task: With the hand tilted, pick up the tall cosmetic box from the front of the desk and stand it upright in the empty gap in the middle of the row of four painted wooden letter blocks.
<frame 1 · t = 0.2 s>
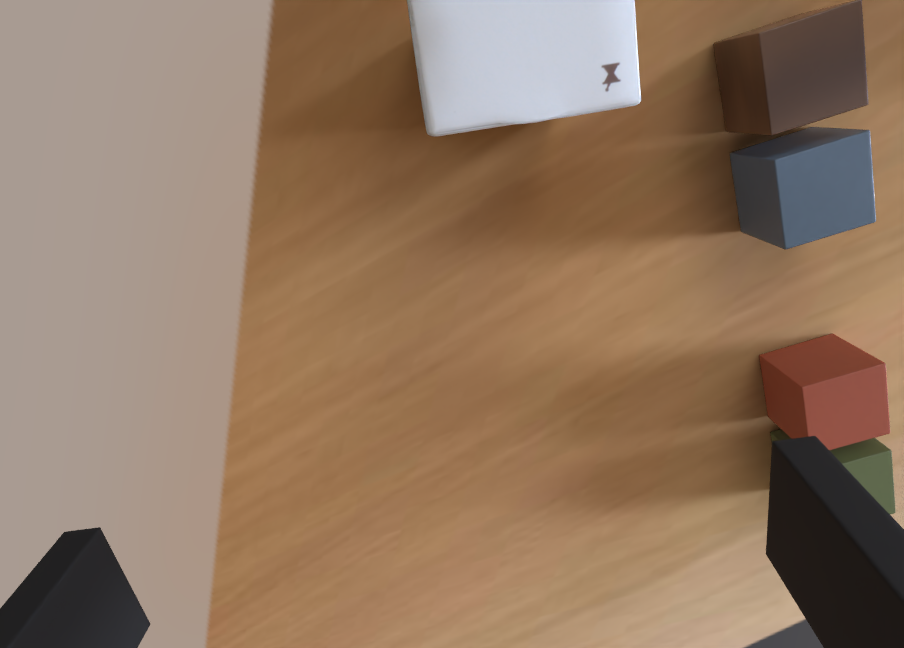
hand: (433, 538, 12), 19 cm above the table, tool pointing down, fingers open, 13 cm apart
block b: (775, 180, 29), on the table
block a: (762, 74, 27), on the table
cosmetic box: (486, 69, 27), on the table
block d: (808, 451, 35), on the table
block c: (799, 376, 33), on the table
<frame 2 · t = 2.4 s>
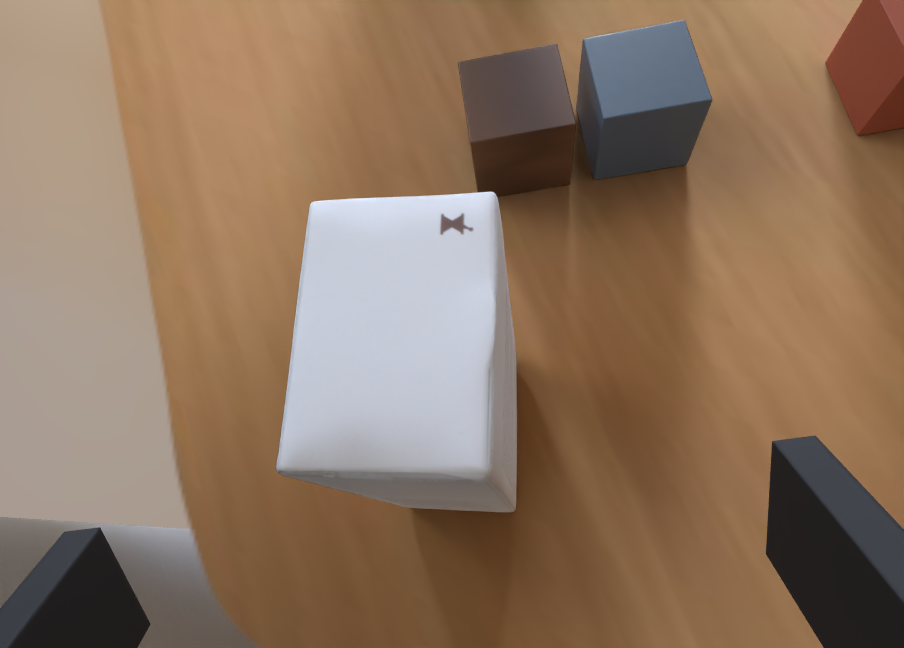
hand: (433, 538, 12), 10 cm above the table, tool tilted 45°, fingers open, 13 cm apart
block b: (629, 135, 27), on the table
block a: (517, 155, 27), on the table
cosmetic box: (462, 433, 23), on the table
block c: (888, 90, 26), on the table
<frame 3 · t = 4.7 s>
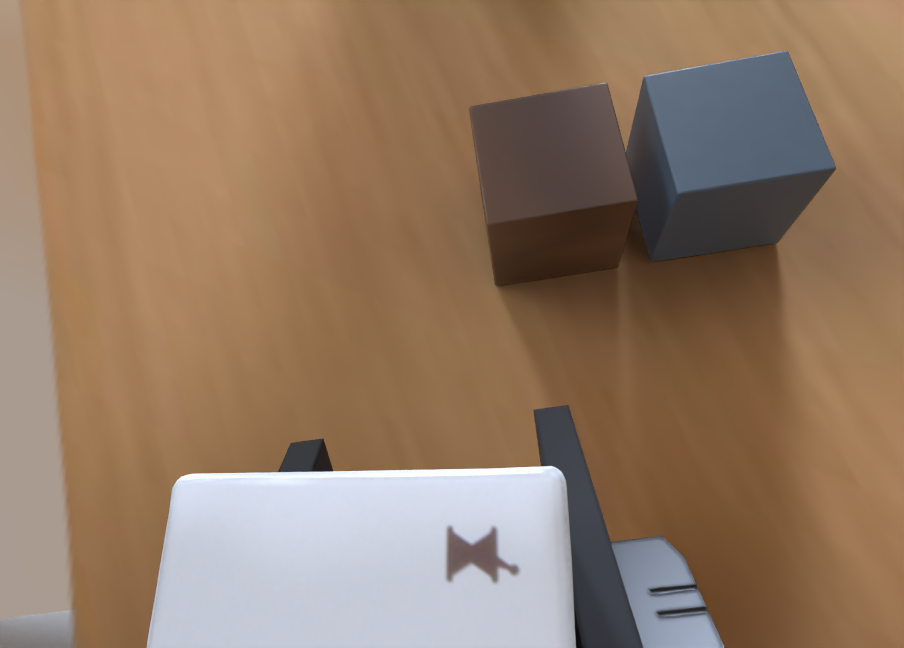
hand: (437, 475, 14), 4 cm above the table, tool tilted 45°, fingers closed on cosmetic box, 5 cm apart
block b: (697, 200, 20), on the table
block a: (546, 224, 20), on the table
cosmetic box: (472, 634, 16), on the table, touching gripper
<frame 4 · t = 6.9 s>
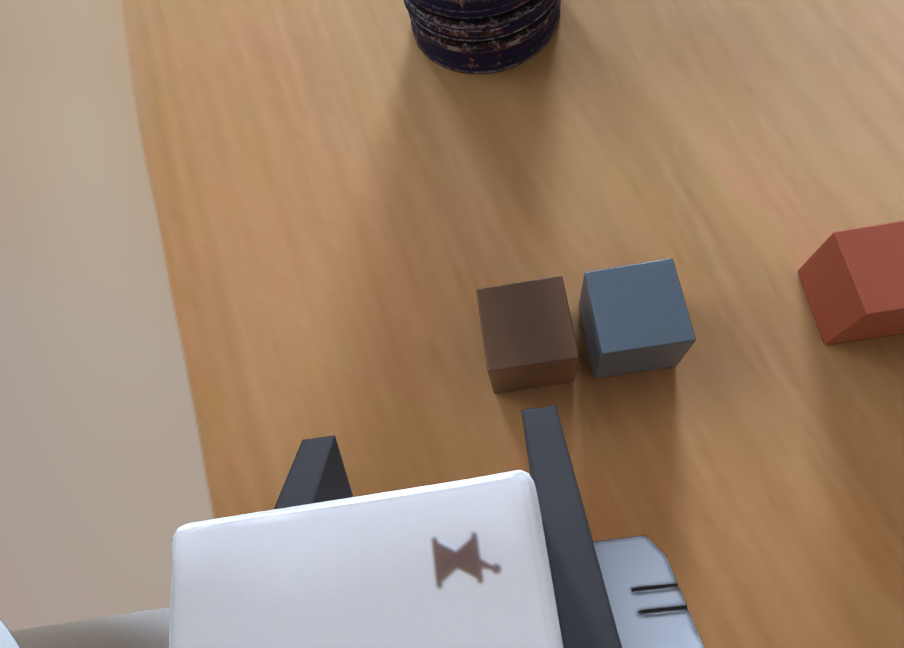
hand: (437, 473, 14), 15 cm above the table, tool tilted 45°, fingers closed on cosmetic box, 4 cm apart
block b: (625, 335, 30), on the table
storage jar: (485, 17, 39), on the table
block a: (527, 350, 31), on the table
cosmetic box: (477, 633, 17), point 11 cm above the table, touching gripper
block c: (852, 300, 29), on the table
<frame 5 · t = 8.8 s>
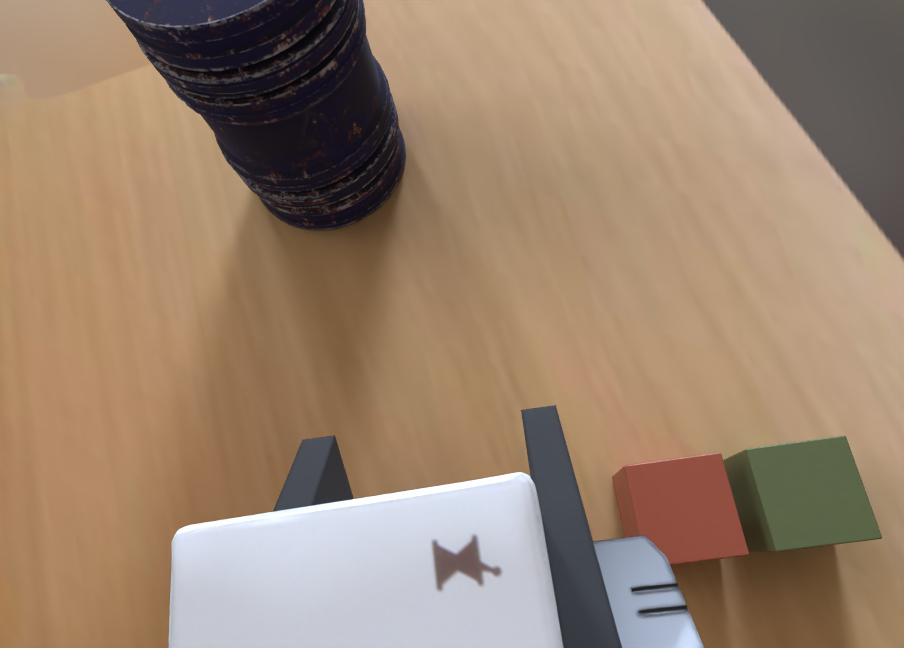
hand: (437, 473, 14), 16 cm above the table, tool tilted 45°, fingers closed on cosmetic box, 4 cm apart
storage jar: (330, 164, 38), on the table
cosmetic box: (477, 634, 17), point 12 cm above the table, touching gripper
block d: (774, 499, 28), on the table
block c: (664, 514, 28), on the table
when the fingers open (5 cm above the table, at t = 12.6 s): cosmetic box stays where it is, on the table.
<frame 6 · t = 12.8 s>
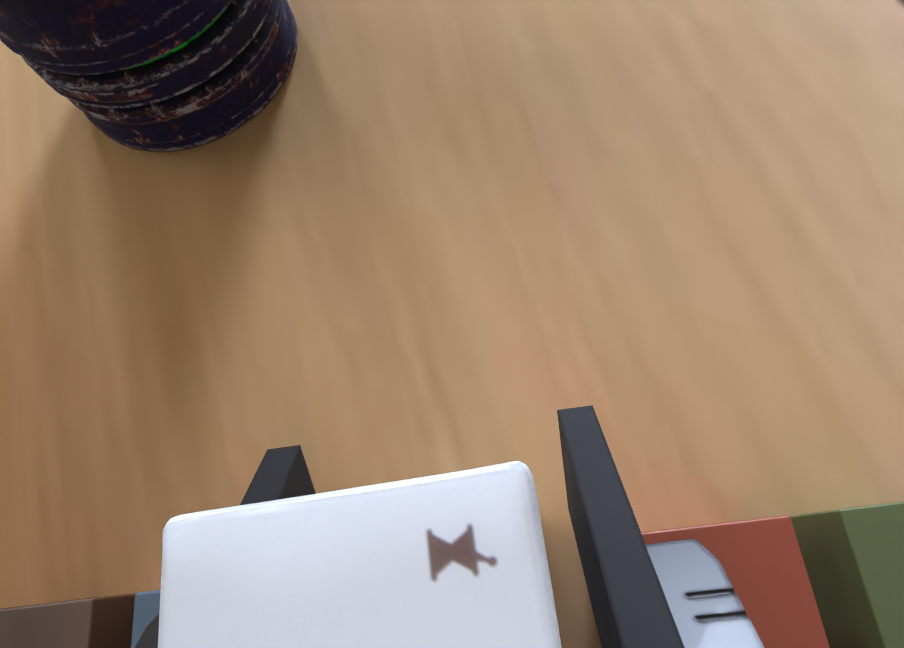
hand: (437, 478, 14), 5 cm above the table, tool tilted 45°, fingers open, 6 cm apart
storage jar: (191, 60, 26), on the table
cosmetic box: (477, 636, 17), on the table
block d: (872, 589, 16), on the table
block c: (678, 610, 16), on the table
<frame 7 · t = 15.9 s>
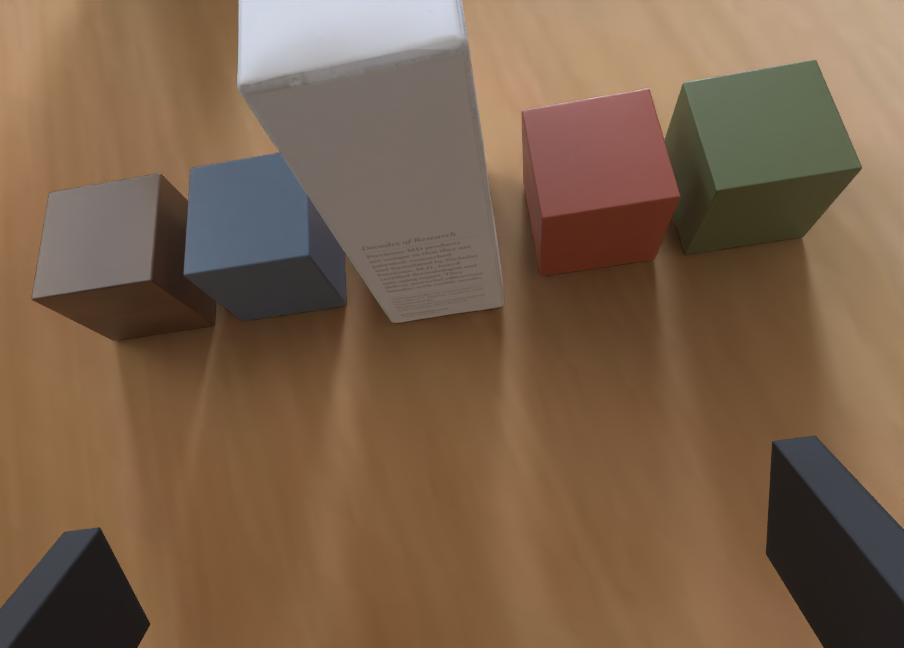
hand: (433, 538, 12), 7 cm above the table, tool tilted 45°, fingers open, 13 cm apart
block b: (293, 265, 23), on the table
block a: (167, 285, 23), on the table
cosmetic box: (439, 248, 22), on the table
block d: (727, 197, 21), on the table
block c: (586, 219, 22), on the table
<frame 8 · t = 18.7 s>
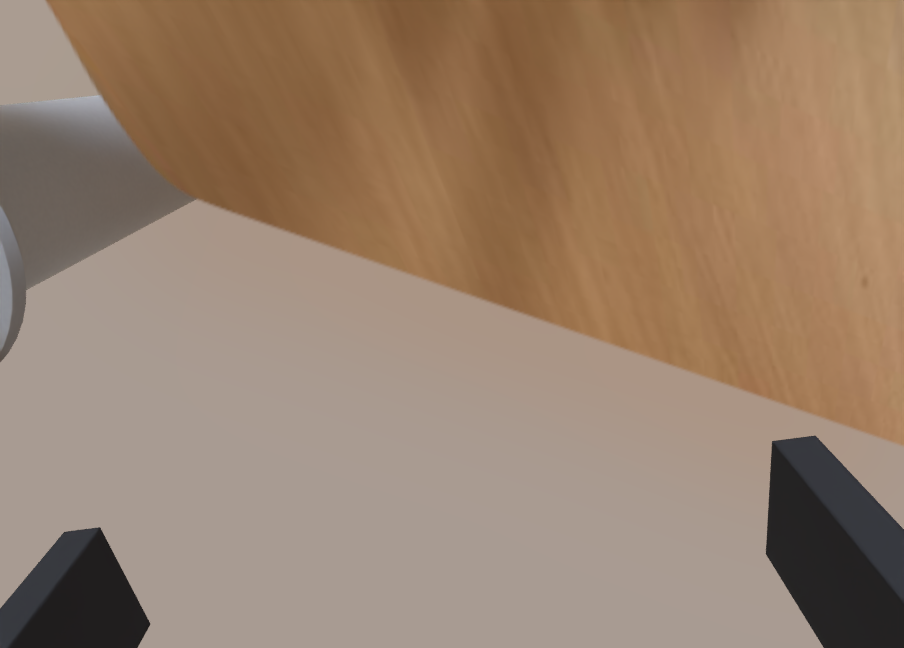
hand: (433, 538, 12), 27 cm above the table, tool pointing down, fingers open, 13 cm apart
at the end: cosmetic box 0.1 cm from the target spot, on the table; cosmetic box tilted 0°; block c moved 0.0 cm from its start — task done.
